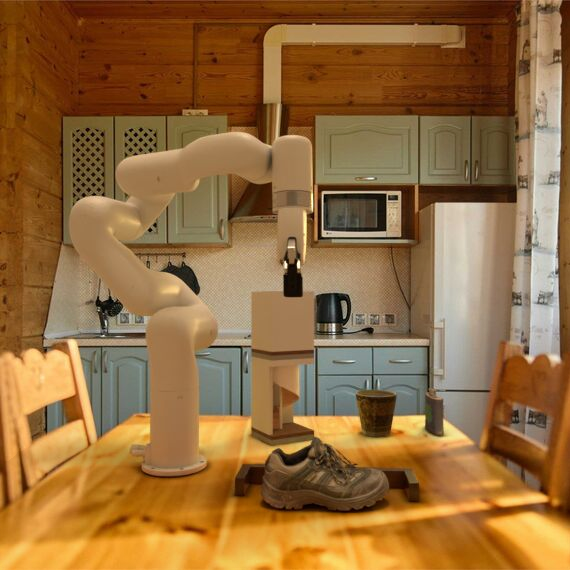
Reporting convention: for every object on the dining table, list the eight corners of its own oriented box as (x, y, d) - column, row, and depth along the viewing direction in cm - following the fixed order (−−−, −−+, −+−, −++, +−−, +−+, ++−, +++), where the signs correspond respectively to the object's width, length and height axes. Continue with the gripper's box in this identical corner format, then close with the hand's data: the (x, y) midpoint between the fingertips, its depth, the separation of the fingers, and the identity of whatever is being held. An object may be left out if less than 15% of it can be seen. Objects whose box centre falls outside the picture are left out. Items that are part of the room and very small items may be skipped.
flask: (445, 436, 131) (444, 391, 131) (433, 436, 131) (432, 391, 131) (433, 427, 140) (432, 385, 140) (422, 427, 140) (421, 385, 140)
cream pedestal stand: (271, 445, 122) (271, 291, 123) (251, 435, 132) (251, 291, 133) (314, 439, 128) (313, 291, 129) (291, 429, 137) (291, 292, 138)
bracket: (234, 495, 91) (234, 477, 91) (242, 480, 99) (242, 463, 99) (419, 501, 88) (419, 483, 89) (412, 485, 96) (412, 468, 96)
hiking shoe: (399, 501, 83) (382, 424, 89) (262, 519, 81) (255, 440, 87) (389, 511, 91) (374, 439, 97) (264, 527, 89) (257, 454, 95)
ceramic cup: (367, 427, 140) (367, 388, 140) (403, 432, 134) (403, 392, 134) (342, 437, 130) (342, 395, 130) (380, 444, 124) (380, 400, 124)
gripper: (275, 212, 109) (276, 297, 108) (268, 196, 91) (269, 297, 91) (312, 211, 108) (313, 297, 108) (312, 195, 91) (314, 296, 91)
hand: (293, 297), depth 99 cm, fingers open, 9 cm apart
